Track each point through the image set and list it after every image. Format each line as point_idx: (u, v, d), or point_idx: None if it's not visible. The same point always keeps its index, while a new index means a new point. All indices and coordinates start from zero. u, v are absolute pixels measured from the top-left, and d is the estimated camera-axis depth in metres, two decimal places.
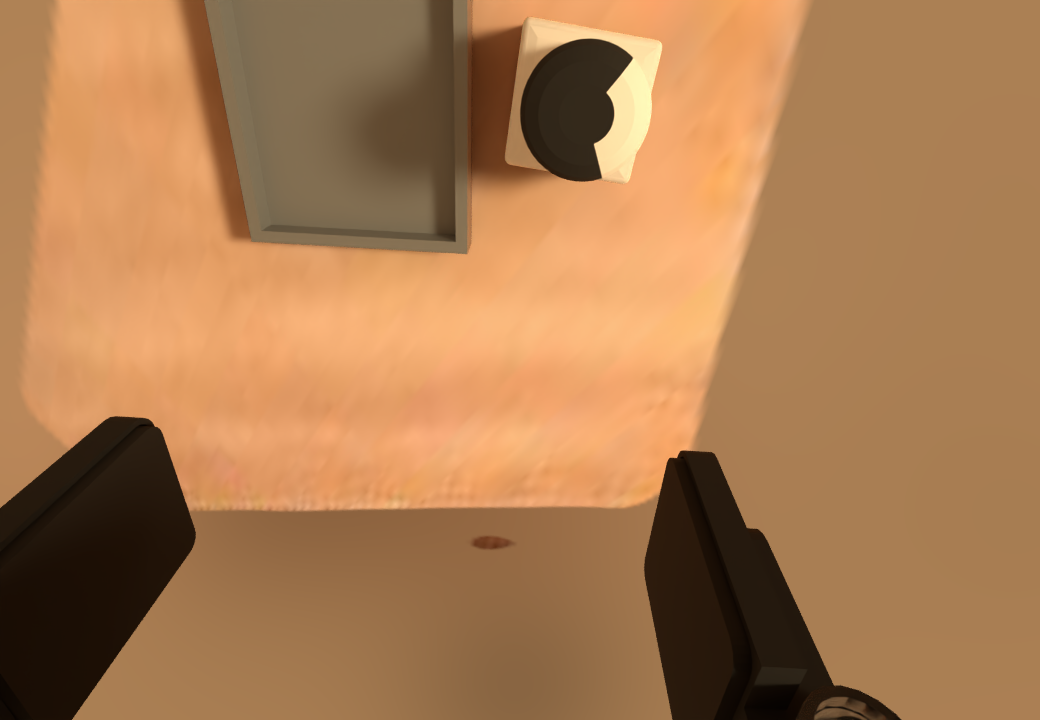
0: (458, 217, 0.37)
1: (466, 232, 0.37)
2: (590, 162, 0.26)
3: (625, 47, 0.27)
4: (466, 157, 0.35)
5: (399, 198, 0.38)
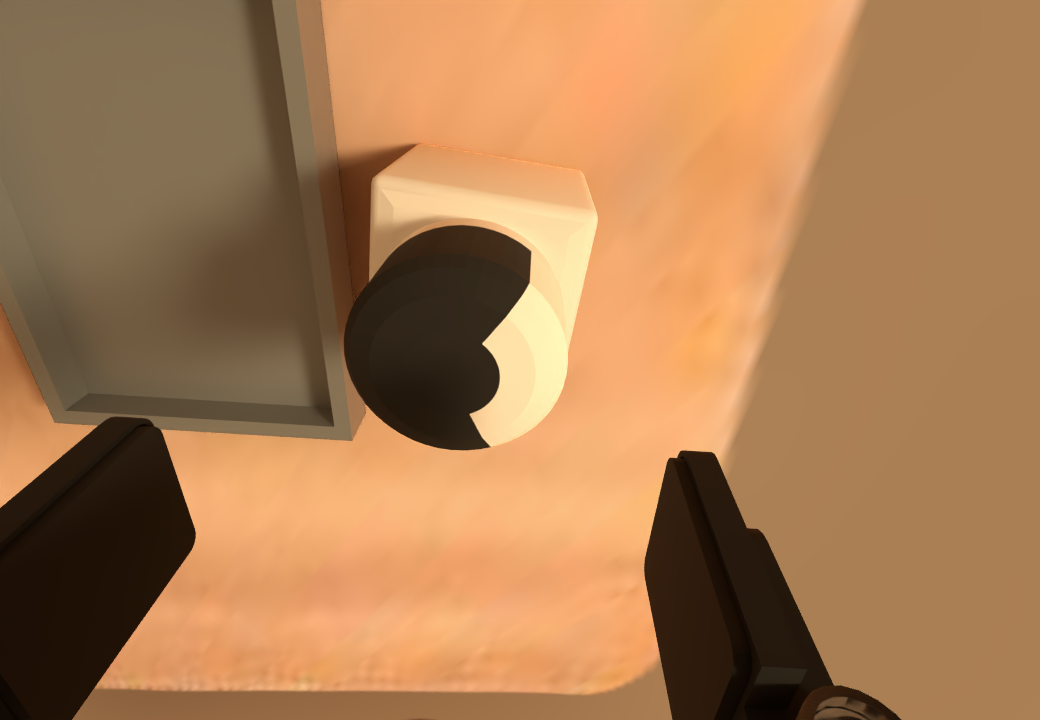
0: (334, 398, 0.26)
1: (347, 415, 0.27)
2: (466, 436, 0.15)
3: (536, 221, 0.17)
4: (336, 326, 0.24)
5: (257, 364, 0.27)
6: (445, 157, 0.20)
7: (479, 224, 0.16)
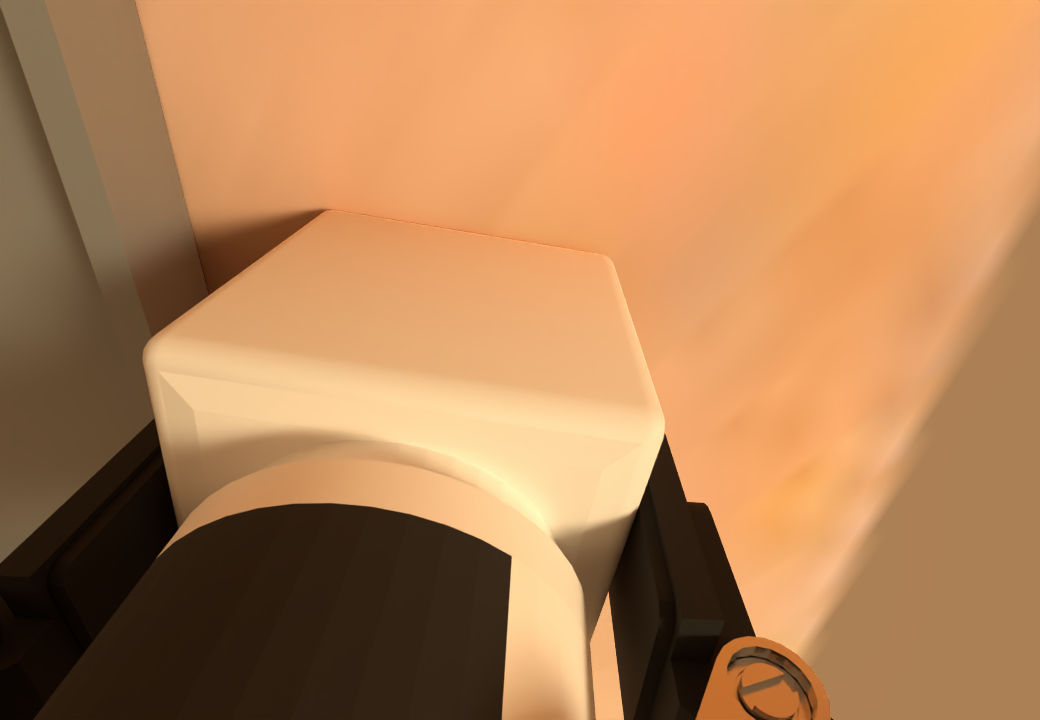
0: None
1: None
2: None
3: (527, 440, 0.07)
4: None
5: None
6: (359, 247, 0.11)
7: (377, 494, 0.06)
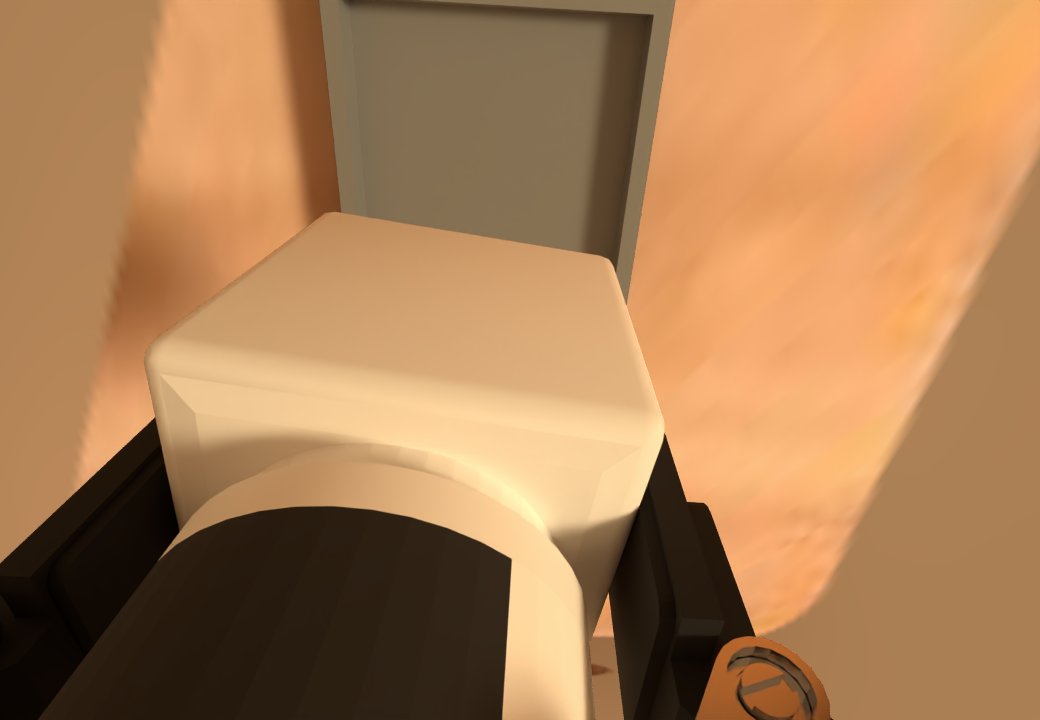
0: None
1: None
2: None
3: (527, 443, 0.07)
4: (626, 298, 0.29)
5: None
6: (360, 250, 0.11)
7: (378, 496, 0.06)
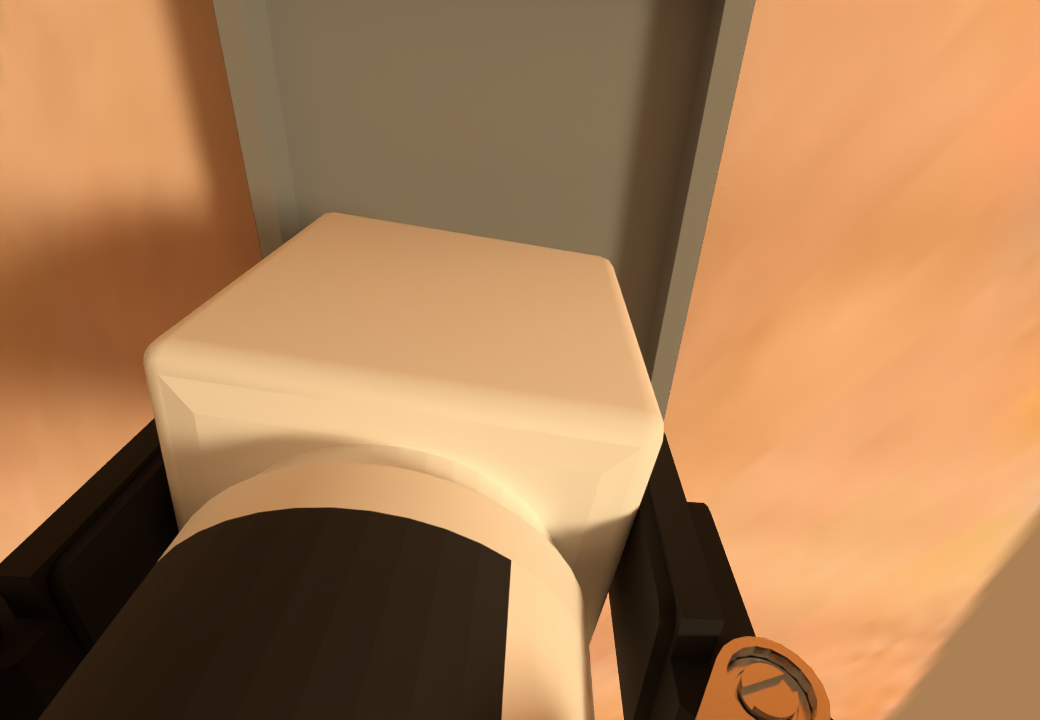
0: None
1: None
2: None
3: (526, 444, 0.07)
4: (669, 384, 0.21)
5: None
6: (359, 250, 0.11)
7: (377, 498, 0.06)
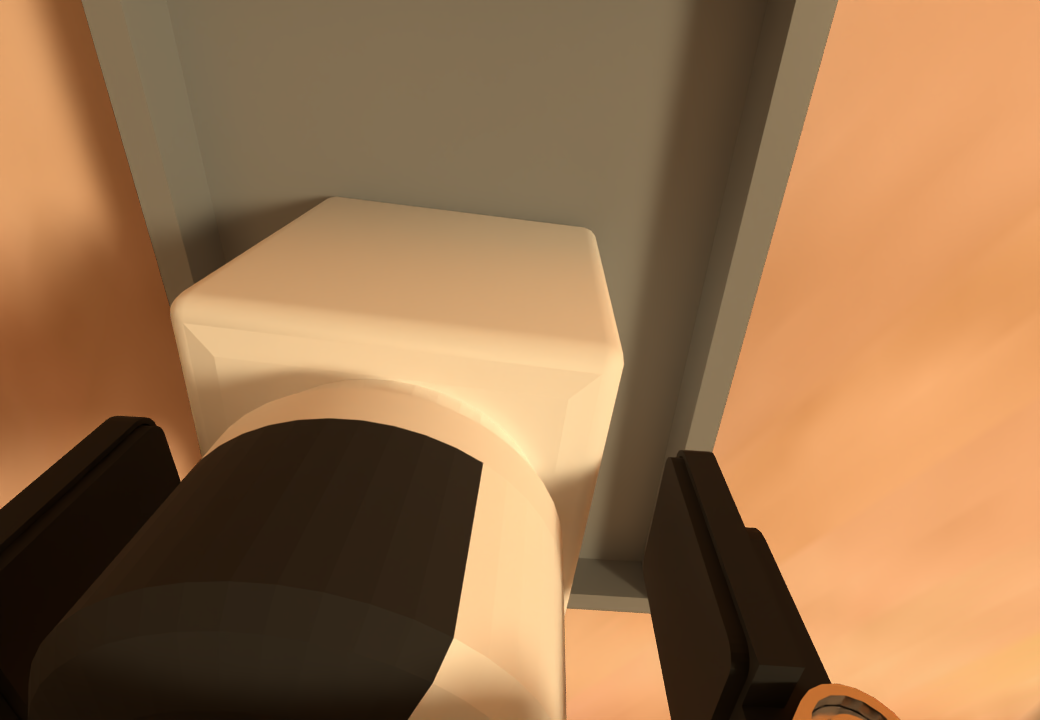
0: None
1: None
2: None
3: (500, 375, 0.08)
4: None
5: None
6: (358, 226, 0.12)
7: (367, 411, 0.07)
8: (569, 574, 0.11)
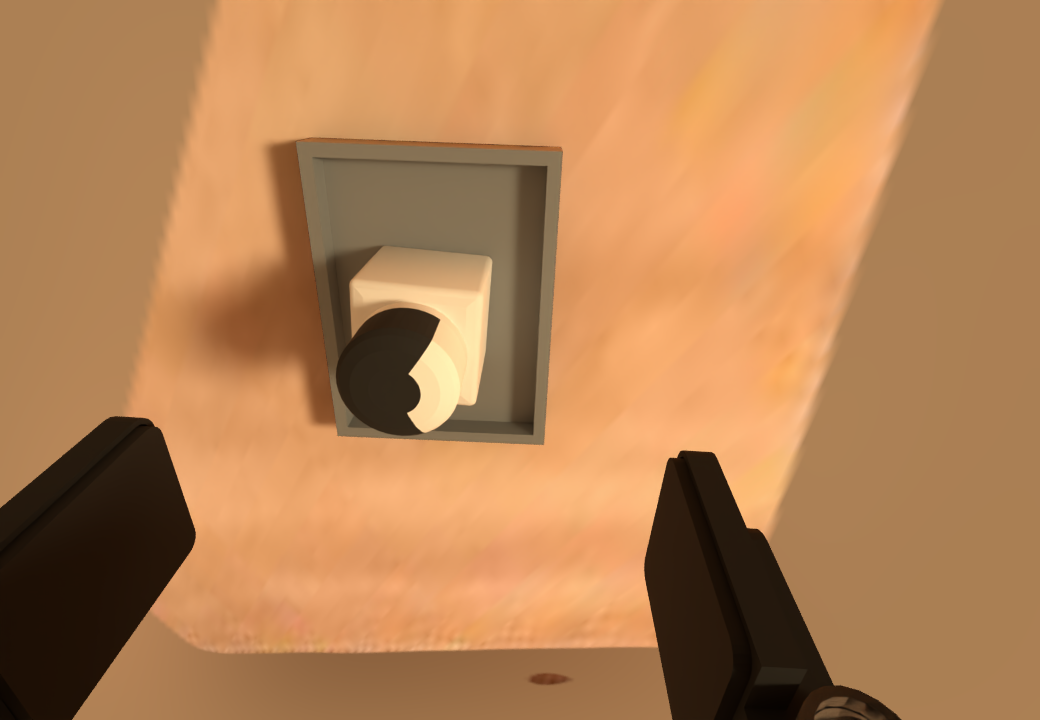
0: (537, 415, 0.39)
1: (544, 427, 0.39)
2: (407, 426, 0.27)
3: (446, 300, 0.29)
4: (547, 367, 0.37)
5: (478, 393, 0.40)
6: (398, 257, 0.33)
7: (409, 306, 0.28)
8: (474, 375, 0.31)
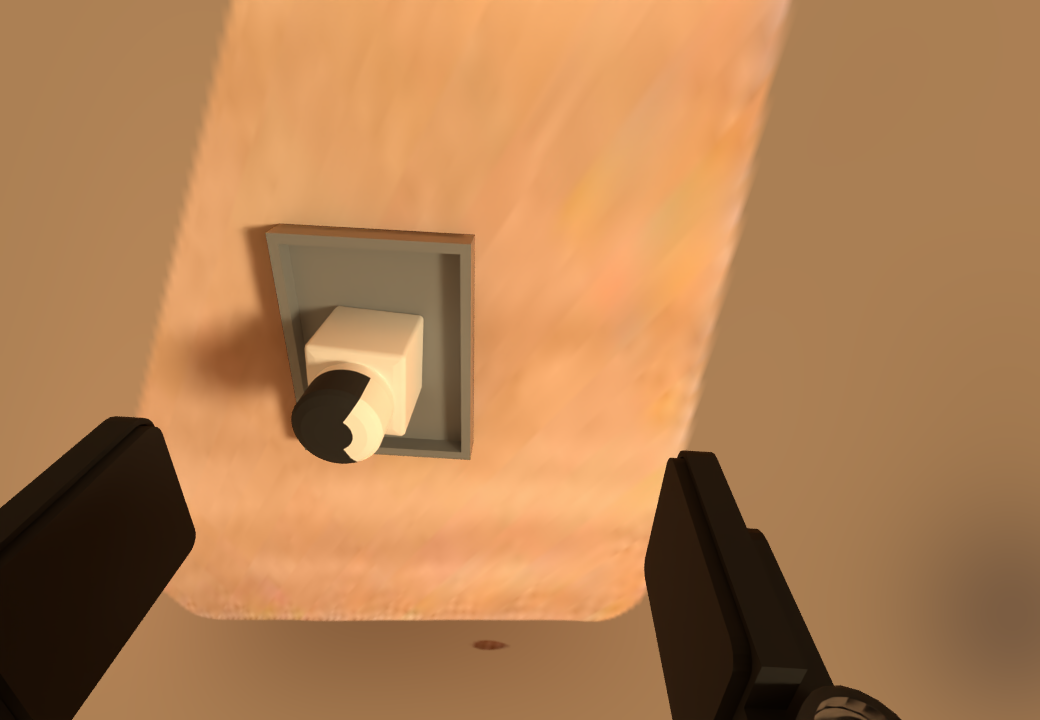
0: (463, 437, 0.48)
1: (469, 446, 0.49)
2: (344, 458, 0.37)
3: (377, 361, 0.38)
4: (469, 401, 0.46)
5: (418, 417, 0.49)
6: (346, 319, 0.42)
7: (348, 368, 0.37)
8: (402, 414, 0.41)
